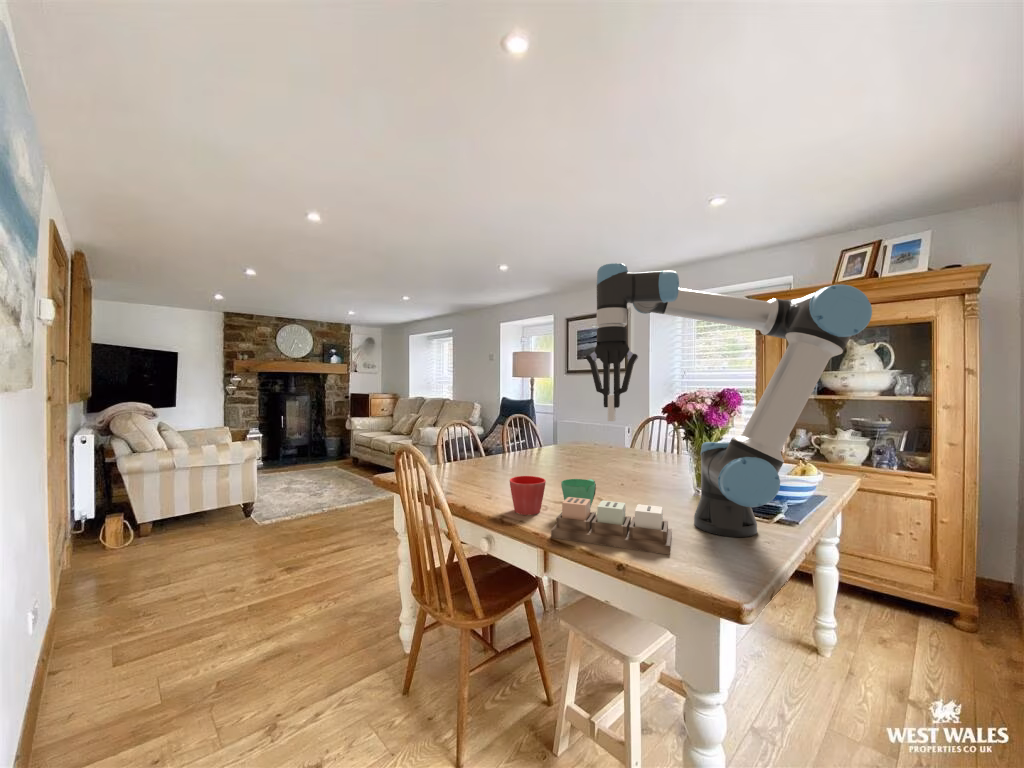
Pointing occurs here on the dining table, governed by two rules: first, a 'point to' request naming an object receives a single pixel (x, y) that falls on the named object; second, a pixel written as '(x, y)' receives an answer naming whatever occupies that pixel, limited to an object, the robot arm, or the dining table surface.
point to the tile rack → (614, 534)
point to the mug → (579, 489)
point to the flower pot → (527, 494)
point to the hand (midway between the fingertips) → (611, 420)
